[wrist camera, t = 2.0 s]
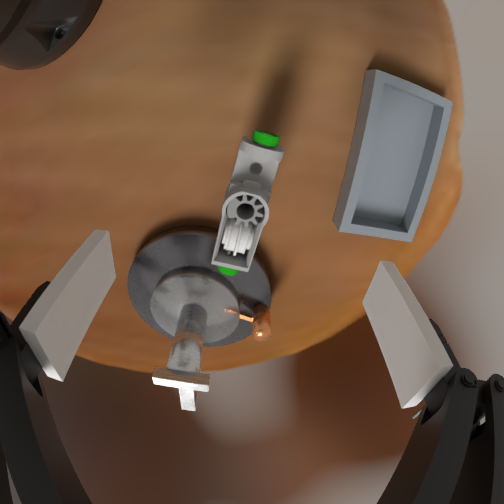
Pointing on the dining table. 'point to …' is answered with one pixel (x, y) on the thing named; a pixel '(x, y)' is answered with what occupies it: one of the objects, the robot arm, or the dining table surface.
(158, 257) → the crank base
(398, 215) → the tray
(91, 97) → the dining table surface
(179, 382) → the crank
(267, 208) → the mechanical component
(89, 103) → the dining table surface
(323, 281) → the dining table surface
